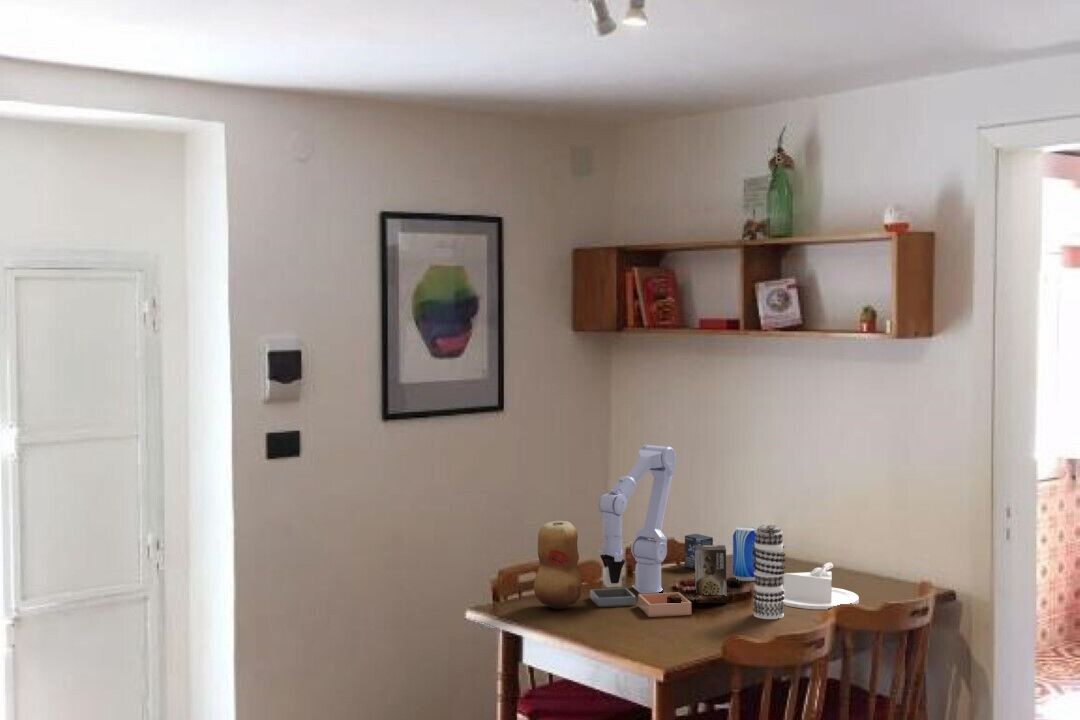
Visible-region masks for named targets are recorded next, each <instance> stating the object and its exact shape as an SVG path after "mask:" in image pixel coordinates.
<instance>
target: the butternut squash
mask: <svg viewBox="0 0 1080 720" xmlns="http://www.w3.org/2000/svg"><path fill="white" fill-rule="evenodd" d="M578 535H579V534H578V531H577V529H576V527H575V525H573V523H571V522H570V521H567V520H554V521H549V522H545V523H544V524H543V525H542V526H541V527H540V529H539V531H538V537H537V555H538V561H539V568H538V571H537V574H536V576H535V579H534V583H533V589H534V594H535V597H536V598H537V600H538V601H539V603H541V604H543V605H545V606H548V607H550V608H551V609H557V610H558V609H559V610H564V609H565V608H567V607H568V606H569V605H574V604H576V603H577V601H578V600H579V599H580V598H581V597H582V596H583V582H582V577H581V574H580V570H579V567H578V566H579V565H578V563H579V559H580V555H579V551H578V537H579V536H578Z"/></svg>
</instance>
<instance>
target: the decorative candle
mask: <svg viewBox="0 0 1080 720" xmlns="http://www.w3.org/2000/svg"><path fill="white" fill-rule="evenodd" d="M754 532H755V545H753V546H752V549H753V551H752V554H753V555H754V556H755V557H754V558H753V562H754V563H753V567H754V569H755V570H754V574H755V581H754V589H753V591H752V593H753V594H754V595H753V596H752V597H753V599H754V601H753V603H752V606H753V609H752V611H753V616H754V617H756V618H759V619H763V620H779V619H782V618H784V617H785V614H784V612H785V608H784V607H785V606H786V605H785V604H784V603H783V601H782V600H784V596H782V595H783V594H784V591H783V588H784V583H783V577H784V573H785V571H784V569H785V568H786V567H785V565H784V564H783V563H784V562H786V559H785V558H784V557H785V556H786V553H785V552H784V551H783V549H784V548H785V545H784V541H783V534H784V531H782V529H781V527H780V526H778V525H773V524H764V525H763V524H762V525H759V526H758V528H757V530H756V531H754ZM755 552H756V553H755ZM778 618H779V619H778Z"/></svg>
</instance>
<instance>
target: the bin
mask: <svg viewBox="0 0 1080 720" xmlns="http://www.w3.org/2000/svg"><path fill="white" fill-rule="evenodd" d="M677 594H678V595H679V596H680V597H681V600H682V601H681V603H667V597H668V596H670V595H677ZM637 605H638V606H637V607H638V608H639V609H641V611H642V612H643V613H644V614H645V615H646V616H648V617H649V618H655V617H656V618H657V617H658V618H659V617H661V618H662V617H677V616H678V617H679V616H692V602H691V601H690V600H689V599H688V598H687V597H686V596H684V595H683V594H682V593H681V592H678V591H675V592H663V593H644V594H640V593H638V594H637Z"/></svg>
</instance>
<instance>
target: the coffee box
mask: <svg viewBox="0 0 1080 720" xmlns="http://www.w3.org/2000/svg"><path fill="white" fill-rule="evenodd" d="M694 572H695V573H694V575H695V576H694V578H695V579H694V581H695V583H694V585H695V589H696V593H699V594H704V595H725V596H728V593H727V589H728V588H727V587H728V585H727V548H726V545H725V544H724V545H723V544H720V545H719V544H716V545H715V544H713V545H695V569H694Z"/></svg>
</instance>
